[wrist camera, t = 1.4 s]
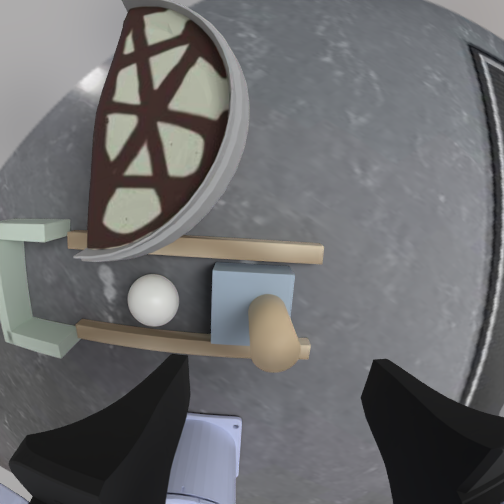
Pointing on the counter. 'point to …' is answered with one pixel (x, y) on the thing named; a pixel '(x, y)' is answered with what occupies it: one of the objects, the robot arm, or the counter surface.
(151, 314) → the ball
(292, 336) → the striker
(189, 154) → the food container
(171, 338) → the lane
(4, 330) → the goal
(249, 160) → the counter surface
